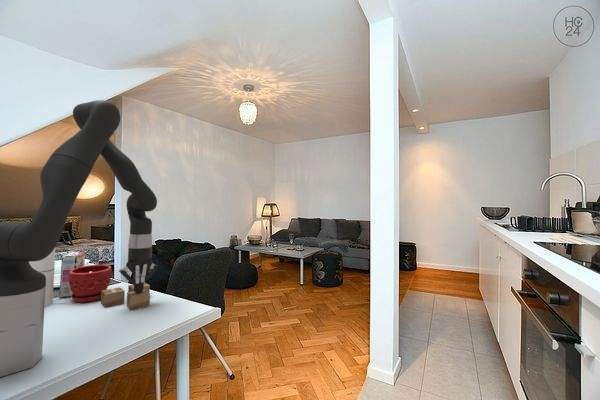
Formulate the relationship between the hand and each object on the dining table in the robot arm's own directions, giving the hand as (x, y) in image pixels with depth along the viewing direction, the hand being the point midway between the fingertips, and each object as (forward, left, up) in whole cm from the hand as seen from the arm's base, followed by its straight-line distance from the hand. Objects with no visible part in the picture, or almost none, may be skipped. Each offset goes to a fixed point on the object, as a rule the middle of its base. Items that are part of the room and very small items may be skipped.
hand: (138, 292), depth 98 cm
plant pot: (+21, +11, -5) cm, 24 cm away
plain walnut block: (0, 0, -5) cm, 5 cm away
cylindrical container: (+25, +25, -5) cm, 36 cm away
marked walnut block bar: (+9, +6, -5) cm, 12 cm away
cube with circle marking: (+10, -3, -5) cm, 12 cm away
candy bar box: (+33, +15, -5) cm, 37 cm away
